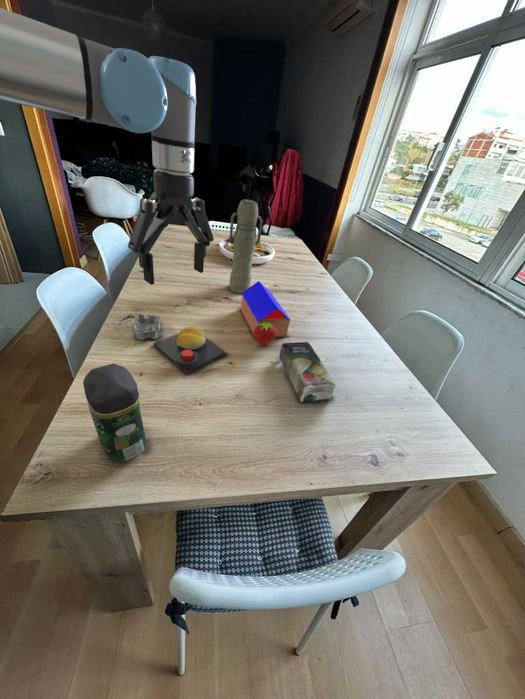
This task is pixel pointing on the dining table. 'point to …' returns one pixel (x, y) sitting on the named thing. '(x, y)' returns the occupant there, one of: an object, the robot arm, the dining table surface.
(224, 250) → the bowl
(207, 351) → the red button pad
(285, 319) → the house
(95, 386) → the coffee jar
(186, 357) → the power button
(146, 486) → the dining table surface
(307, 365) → the juice carton
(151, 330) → the egg carton
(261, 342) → the strawberry
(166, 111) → the robot arm
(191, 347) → the bread roll
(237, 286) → the thermos
